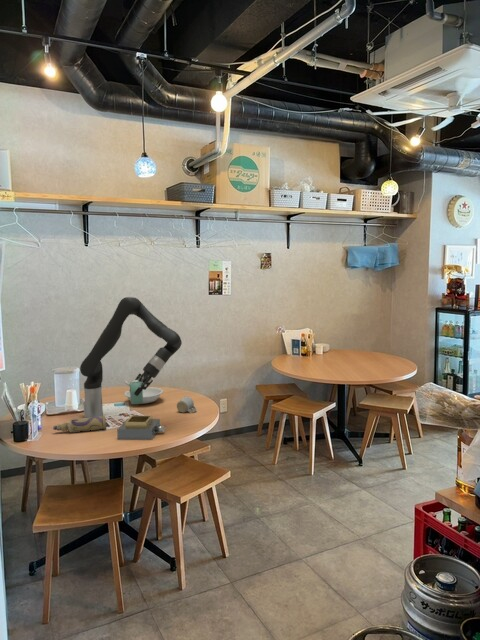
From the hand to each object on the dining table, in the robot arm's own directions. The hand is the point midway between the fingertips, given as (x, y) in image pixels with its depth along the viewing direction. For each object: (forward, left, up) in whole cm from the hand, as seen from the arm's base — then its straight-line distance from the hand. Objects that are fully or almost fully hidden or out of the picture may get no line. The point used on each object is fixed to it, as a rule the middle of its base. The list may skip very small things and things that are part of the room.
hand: (133, 393), depth 229 cm
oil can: (0, 0, -5) cm, 5 cm away
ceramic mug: (+19, +38, -21) cm, 48 cm away
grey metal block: (+4, +1, -21) cm, 21 cm away
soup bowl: (-11, +57, -21) cm, 62 cm away
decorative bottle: (-29, +6, -21) cm, 37 cm away
